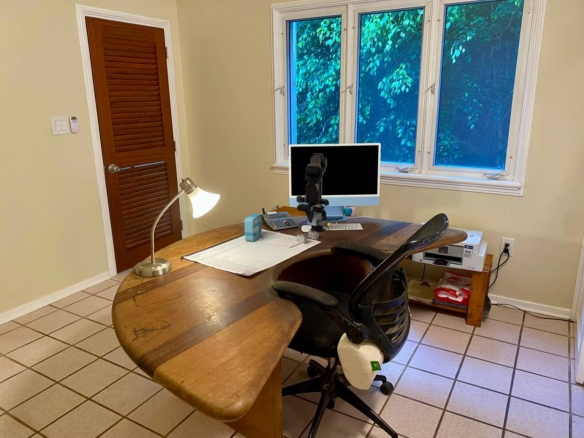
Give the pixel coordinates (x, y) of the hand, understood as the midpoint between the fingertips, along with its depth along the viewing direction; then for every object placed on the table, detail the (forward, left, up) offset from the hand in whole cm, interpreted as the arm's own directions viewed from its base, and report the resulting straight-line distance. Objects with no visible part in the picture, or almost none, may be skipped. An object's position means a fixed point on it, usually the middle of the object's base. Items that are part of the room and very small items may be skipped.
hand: (313, 221), depth 215 cm
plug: (0, +5, -1) cm, 5 cm away
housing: (-1, -5, -11) cm, 12 cm away
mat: (+9, -11, -11) cm, 18 cm away
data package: (+15, -28, -11) cm, 33 cm away
